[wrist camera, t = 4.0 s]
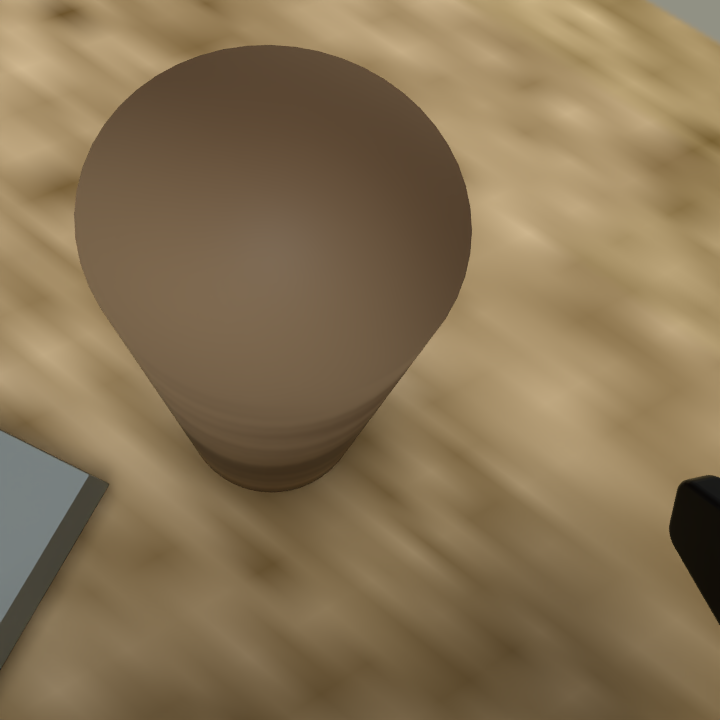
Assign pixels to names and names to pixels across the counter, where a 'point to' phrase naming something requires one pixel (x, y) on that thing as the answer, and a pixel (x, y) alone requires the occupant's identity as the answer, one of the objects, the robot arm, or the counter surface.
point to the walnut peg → (272, 250)
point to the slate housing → (36, 527)
